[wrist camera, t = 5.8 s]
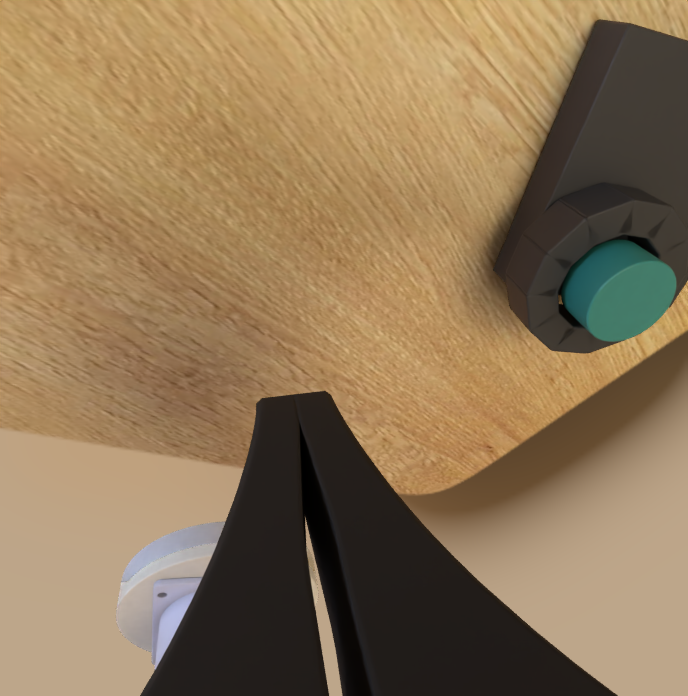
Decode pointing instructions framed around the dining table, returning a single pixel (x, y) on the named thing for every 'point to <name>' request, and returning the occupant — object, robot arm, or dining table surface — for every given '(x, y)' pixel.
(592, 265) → the button
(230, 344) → the dining table surface
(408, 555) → the robot arm
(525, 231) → the button block
